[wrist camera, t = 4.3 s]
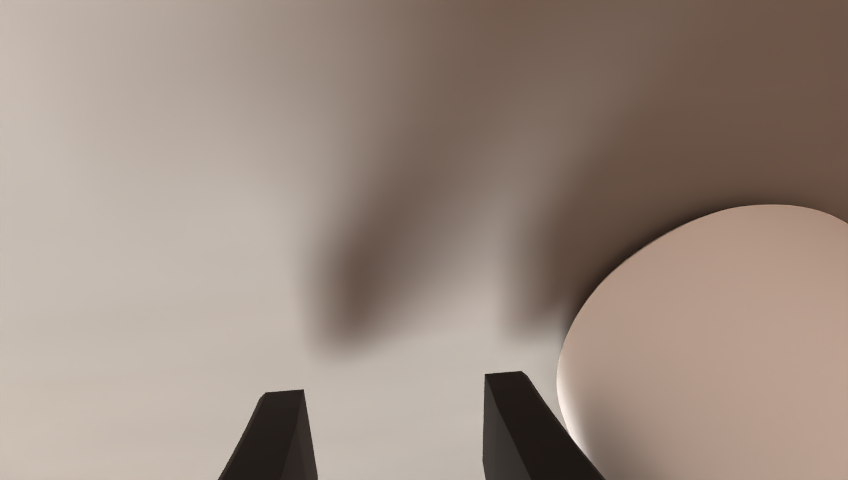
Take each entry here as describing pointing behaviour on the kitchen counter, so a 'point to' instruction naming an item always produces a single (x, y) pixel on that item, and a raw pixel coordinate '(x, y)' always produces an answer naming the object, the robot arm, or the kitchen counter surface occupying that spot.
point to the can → (717, 353)
